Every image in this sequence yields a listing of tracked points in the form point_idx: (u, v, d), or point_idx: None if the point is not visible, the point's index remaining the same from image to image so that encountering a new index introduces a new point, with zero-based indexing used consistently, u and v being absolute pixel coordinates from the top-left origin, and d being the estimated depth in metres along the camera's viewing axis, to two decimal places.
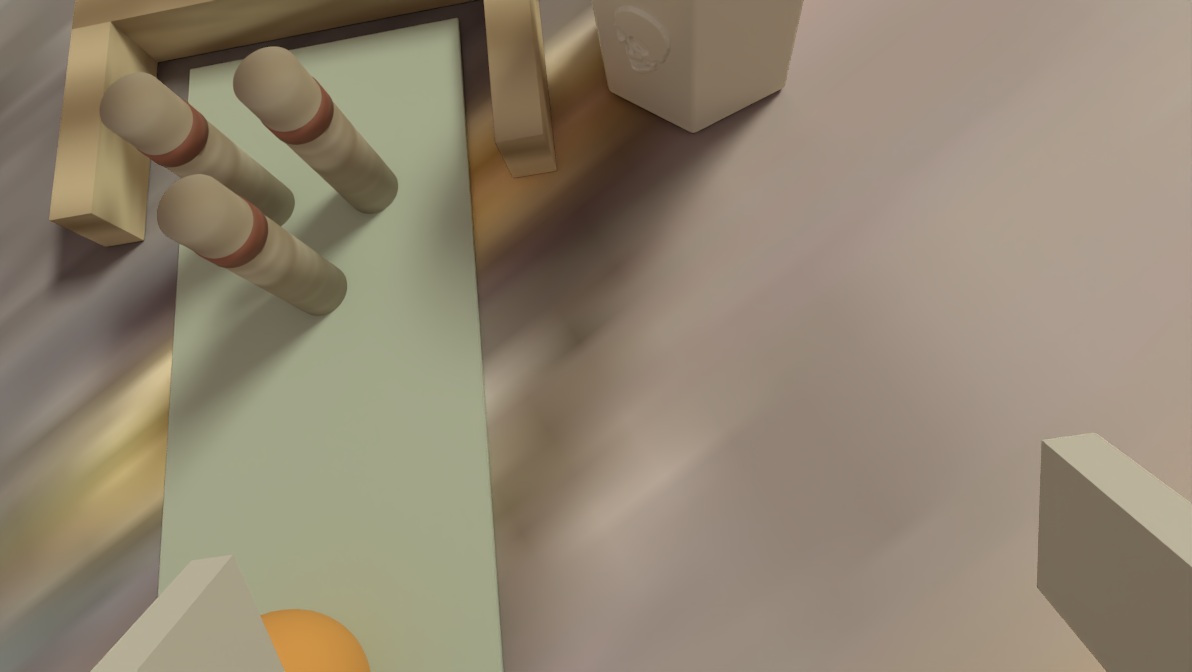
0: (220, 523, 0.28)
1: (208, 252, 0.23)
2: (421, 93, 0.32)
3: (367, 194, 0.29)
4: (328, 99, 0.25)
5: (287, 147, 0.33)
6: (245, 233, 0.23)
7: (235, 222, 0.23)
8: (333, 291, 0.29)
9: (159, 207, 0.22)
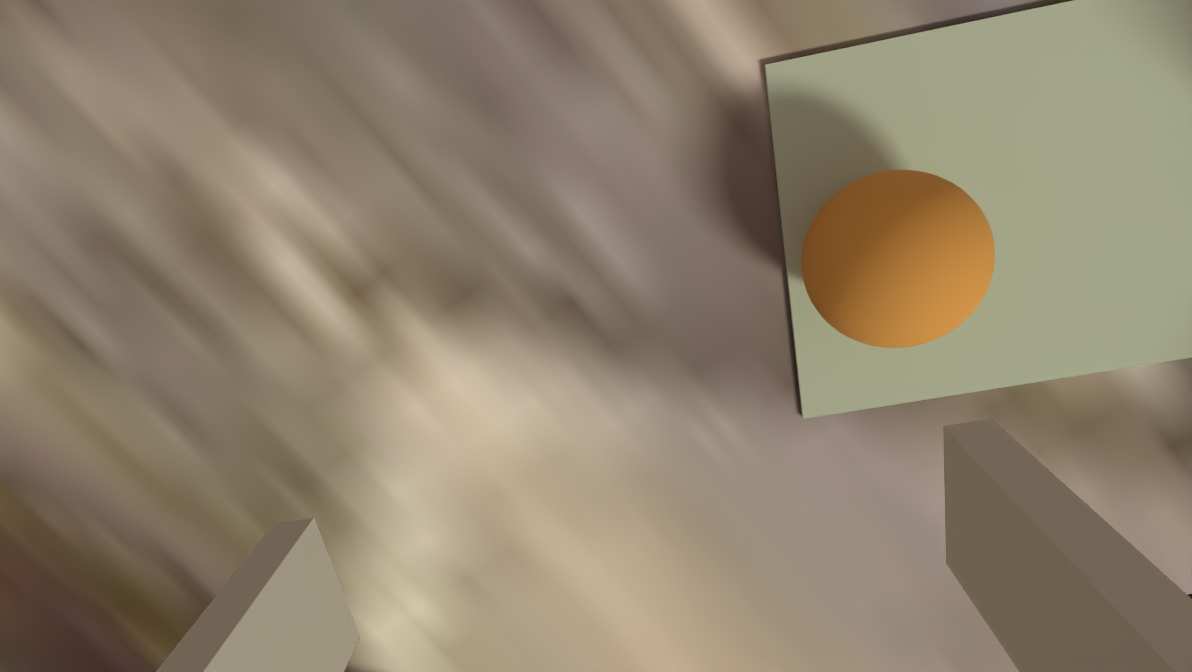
0: (1045, 86, 0.24)
1: None
2: None
3: None
4: None
5: None
6: None
7: None
8: None
9: None
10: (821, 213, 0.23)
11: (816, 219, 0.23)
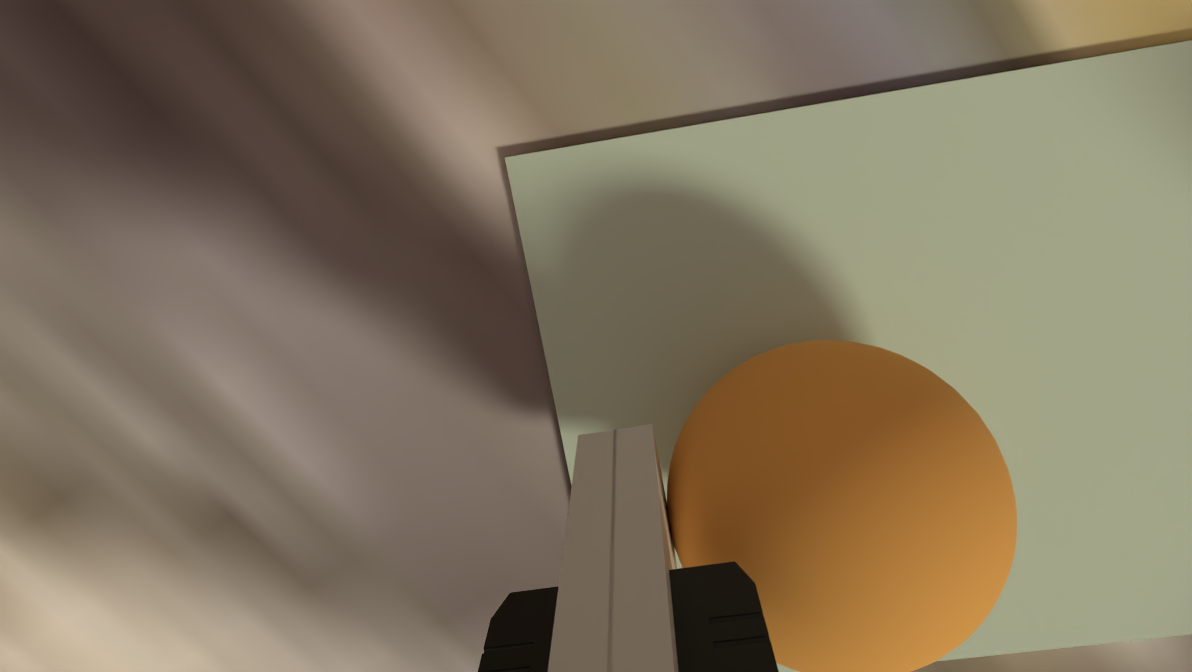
0: (992, 211, 0.14)
1: None
2: None
3: None
4: None
5: None
6: None
7: None
8: None
9: None
10: (714, 440, 0.11)
11: (704, 451, 0.12)
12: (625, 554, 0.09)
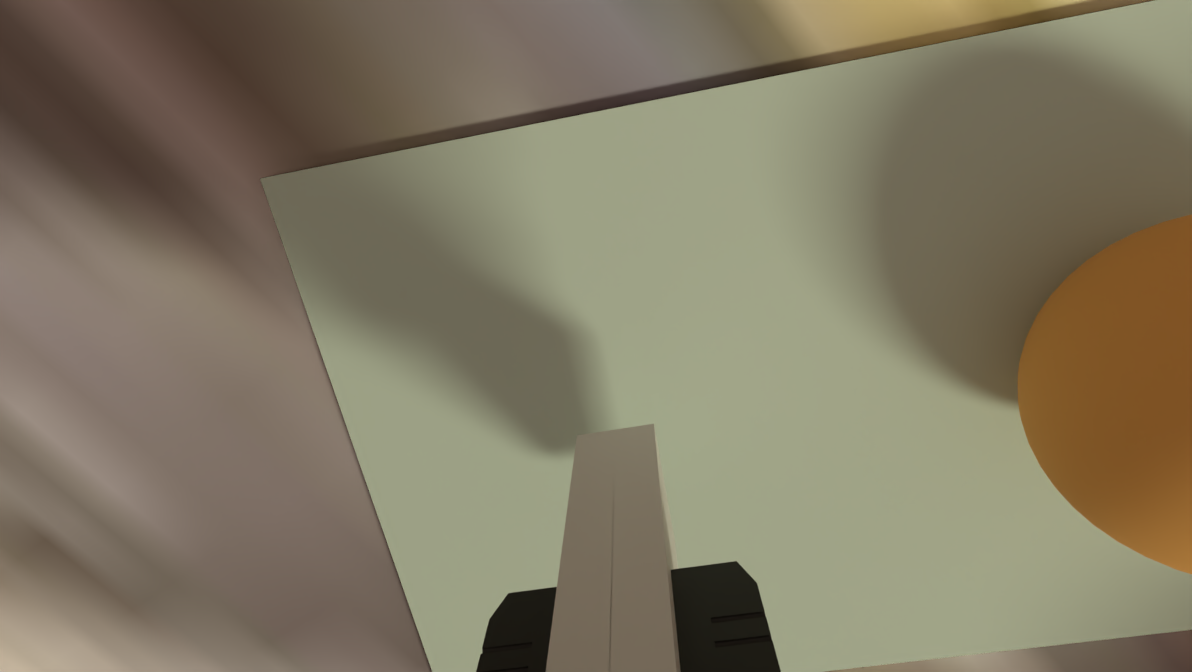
0: (763, 222, 0.13)
1: None
2: None
3: None
4: None
5: None
6: None
7: None
8: None
9: None
10: None
11: None
12: (623, 554, 0.09)
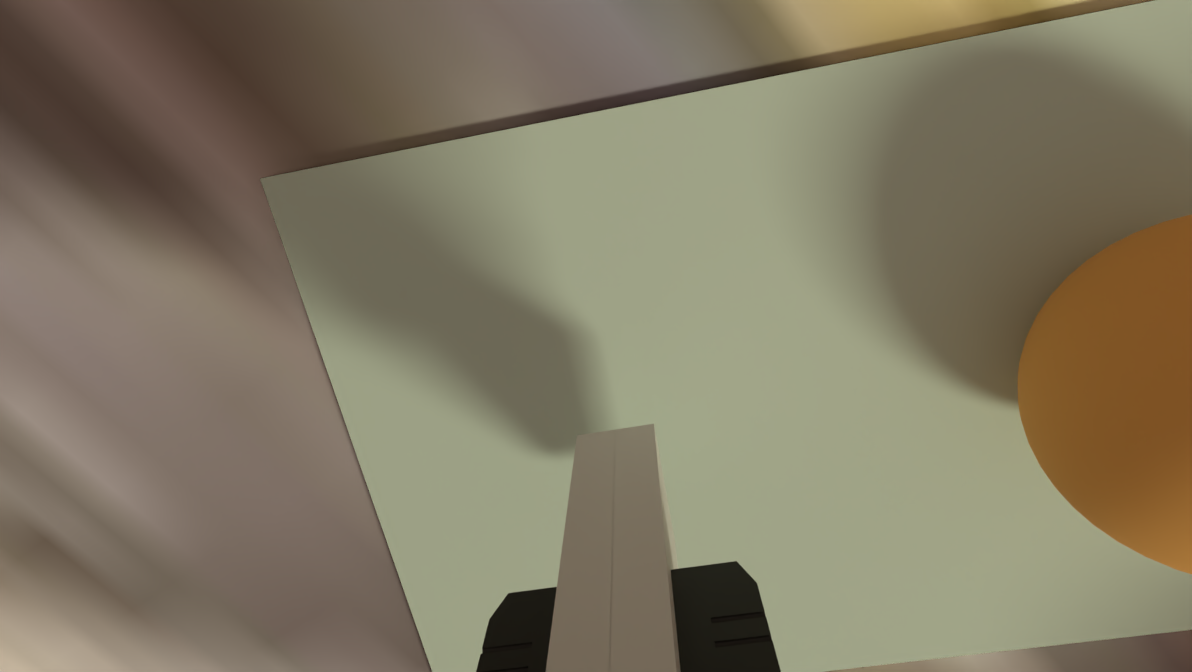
0: (763, 222, 0.13)
1: None
2: None
3: None
4: None
5: None
6: None
7: None
8: None
9: None
10: None
11: None
12: (623, 554, 0.09)
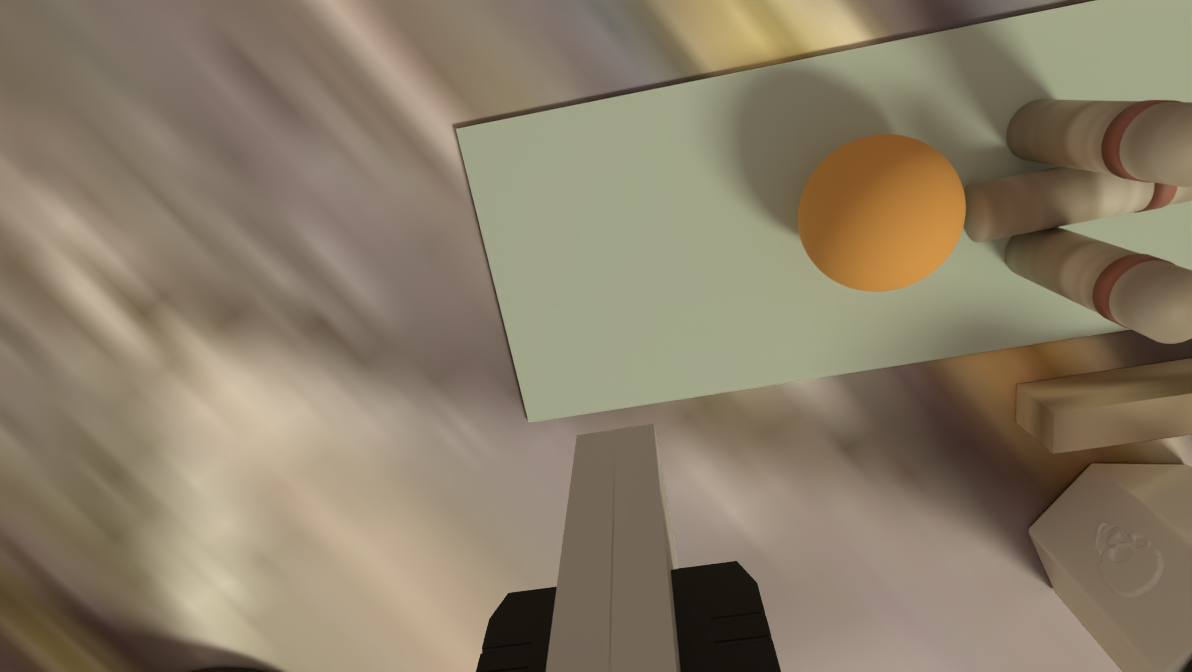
0: (687, 149, 0.29)
1: None
2: None
3: (1025, 273, 0.28)
4: None
5: None
6: None
7: (1178, 202, 0.27)
8: (1005, 236, 0.28)
9: None
10: None
11: None
12: (623, 554, 0.09)
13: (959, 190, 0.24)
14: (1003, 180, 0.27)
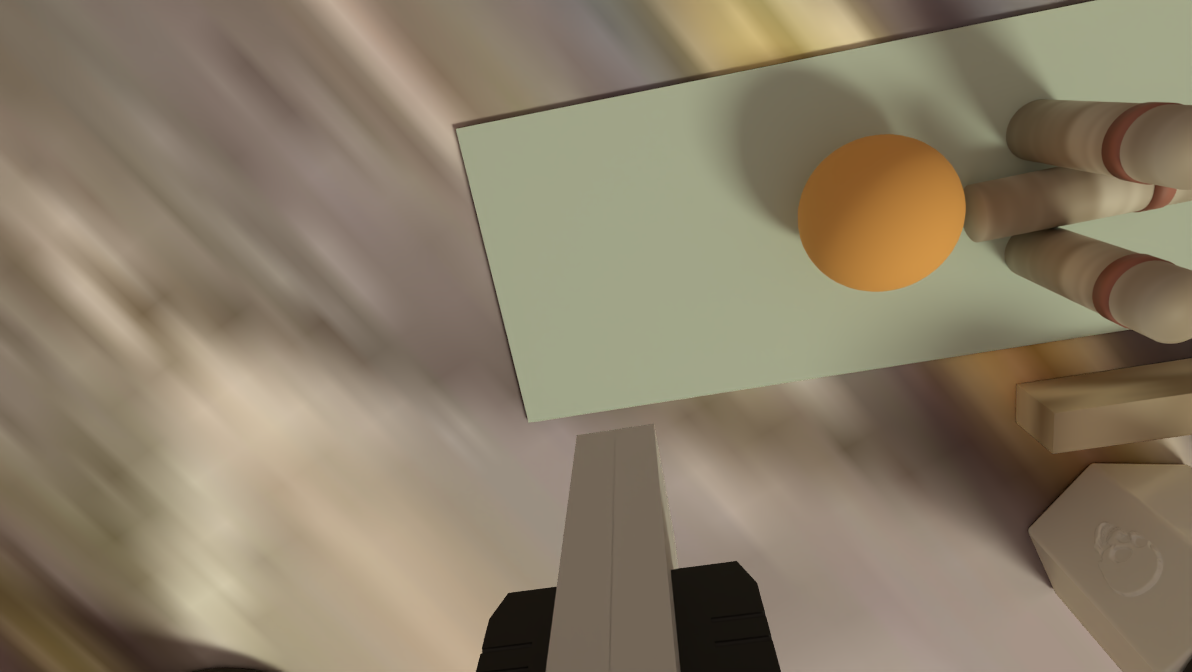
0: (687, 149, 0.29)
1: None
2: None
3: (1025, 273, 0.28)
4: None
5: None
6: None
7: (1177, 202, 0.28)
8: (1005, 236, 0.28)
9: None
10: None
11: None
12: (623, 554, 0.09)
13: (959, 190, 0.24)
14: (1003, 180, 0.27)
